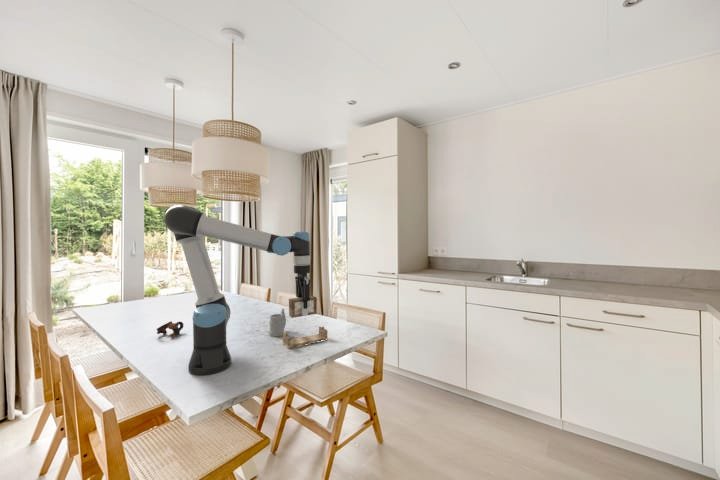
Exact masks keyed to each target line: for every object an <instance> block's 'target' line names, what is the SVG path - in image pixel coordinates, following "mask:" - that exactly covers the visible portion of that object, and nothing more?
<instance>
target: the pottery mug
mask: <svg viewBox="0 0 720 480" xmlns="http://www.w3.org/2000/svg"><path fill="white" fill-rule="evenodd" d="M183 328H184V323H183V322H182V321H177V322H175V323H174V322H173V321H168V322H166V323H164V324H162V325H161V326H159V327H157V328H156V334H157V335H160V334H162V335H166V334H167V333H168V331H167V330H166V329H168V330H171V331H172V333H170V334H169V335H170V337H171V339H174V338H175V337H178V336H179V335H180V334H181V333H180V332H181V330H182V329H183Z"/></svg>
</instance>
